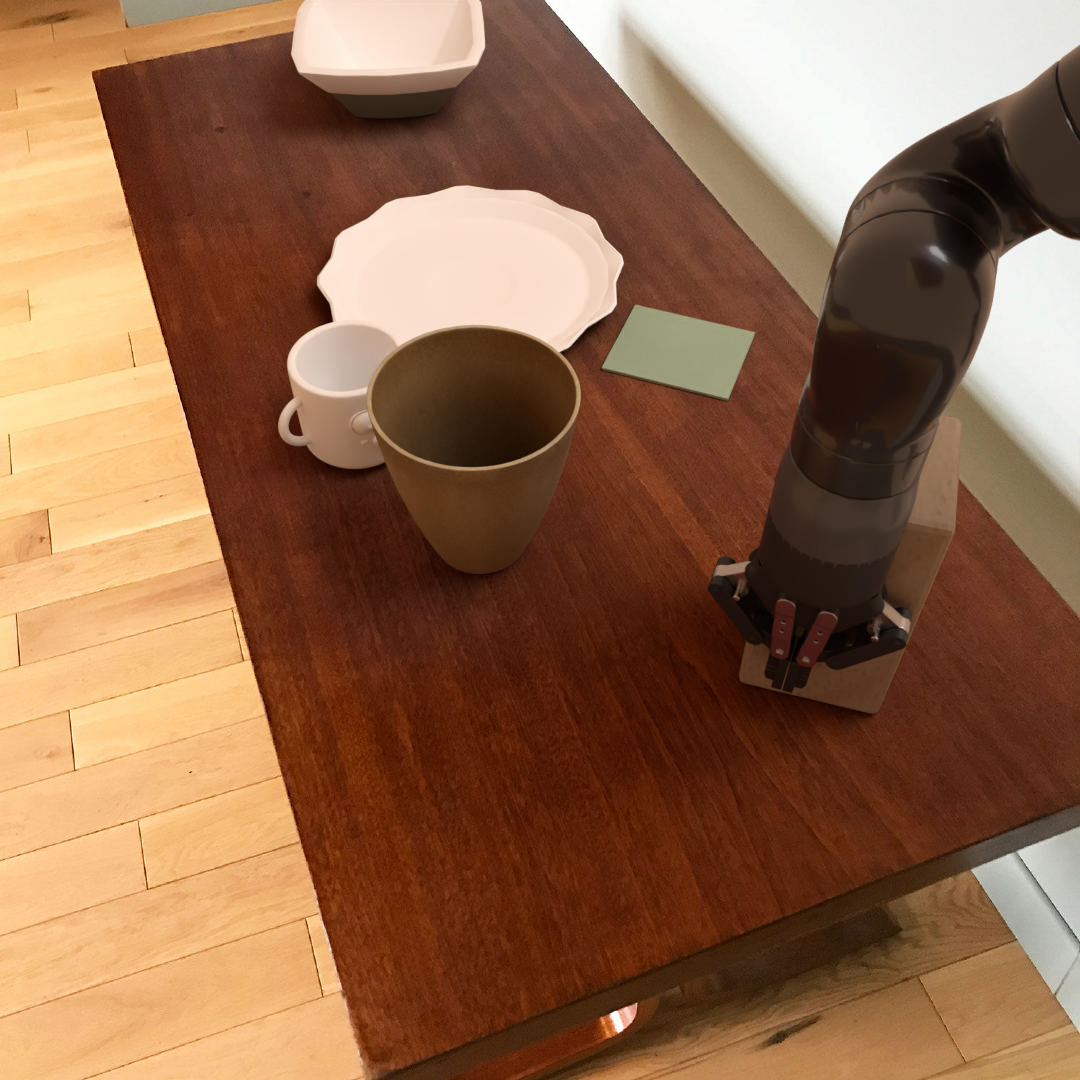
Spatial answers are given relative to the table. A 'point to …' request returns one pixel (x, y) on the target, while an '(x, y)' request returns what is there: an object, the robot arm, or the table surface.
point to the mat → (679, 352)
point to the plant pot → (475, 437)
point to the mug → (336, 391)
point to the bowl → (388, 52)
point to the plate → (474, 266)
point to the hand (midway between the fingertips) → (784, 680)
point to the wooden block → (889, 584)
